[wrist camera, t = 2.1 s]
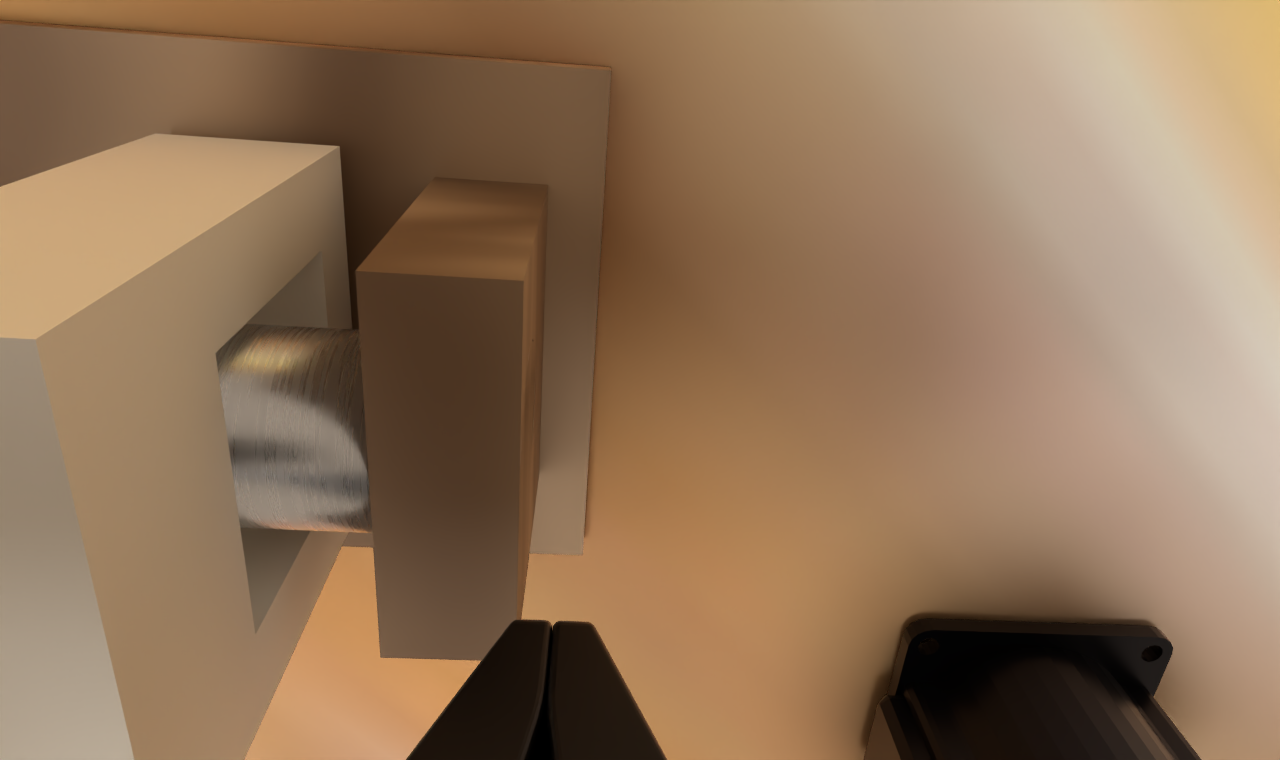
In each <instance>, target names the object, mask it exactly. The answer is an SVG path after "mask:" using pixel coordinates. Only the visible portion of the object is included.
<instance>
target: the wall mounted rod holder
mask: <svg viewBox="0 0 1280 760" xmlns="http://www.w3.org/2000/svg"><path fill="white" fill-rule="evenodd" d="M610 85H611V67H602V66H589V65H576V64H563V63H550V62H537V61H524V60H511V59H498V58H485V57H472V56H459V55H446V54H433V53H420V52H407V51H394V50H381V49H369V48H356V47H343V46H330V45H317V44H304V43H291V42H278V41H265V40H252V39H239V38H226V37H213V36H200V35H187V34H174V33H161V32H148V31H135V30H122V29H109V28H96V27H83V26H70V25H57V24H44V23H31V22H18V21H5V20H0V187H1V186H4V185H7V184H10V183H13V182H15V181H18V180H21V179H24V178H27V177H30V176H33V175H36V174H39V173H42V172H45V171H47V170H50V169H53V168H56V167H59V166H62V165H65V164H68V163H71V162H74V161H77V160H79V159H82V158H85V157H88V156H91V155H94V154H97V153H100V152H103V151H106V150H109V149H111V148H114V147H117V146H120V145H123V144H126V143H129V142H132V141H135V140H138V139H141V138H144V137H146V136H149V135H152V134H155V133H156V134H171V135H185V136H200V137H214V138H229V139H243V140H258V141H272V142H287V143H301V144H316V145H330V146H340V159H341V174H342V188H343V203H344V217H345V232H346V246H347V261H348V276H349V290H350V305H351V319H352V329H354V330H359V335H360V350H361V365H362V381H363V396H364V411H365V427H366V442H367V457H368V473H369V488H370V503H371V519H372V533H360V532H348V534H347V536H346V538H345V540H344V543H343V545H342V546H350V547H373V550H374V565H375V580H376V596H377V611H378V626H379V642H380V657H381V658H413V659H448V660H483V658H484V657H485V656H486V654H487V653H488V652H489V650H490V649H491V648H492V647H493V645H494V644H495V643H496V641H497V640H498V639H499V637H500V636H501V635H502V633H503V632H504V631H505V630H506V628H507V627H508V626H509V625H510V623H511V622H513V621H514V620H519V619H520V620H521V616H522V608H523V600H524V592H525V584H526V576H527V568H528V560H529V553H537V554H564V555H583V544H584V527H585V510H586V493H587V476H588V459H589V442H590V425H591V408H592V391H593V374H594V357H595V340H596V323H597V306H598V289H599V272H600V255H601V238H602V221H603V204H604V187H605V170H606V153H607V136H608V119H609V102H610ZM532 340H533V341H532ZM529 350H530V351H529ZM528 357H529V358H528ZM534 391H535V403H534ZM533 419H534V424H533ZM521 439H522V440H521ZM520 458H521V459H520Z"/></svg>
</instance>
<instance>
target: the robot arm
mask: <svg viewBox="0 0 1280 760" xmlns="http://www.w3.org/2000/svg"><path fill="white" fill-rule="evenodd" d="M929 638H932V639H931V640H930V641H928V642H926V643H921V642H922V641H923V640H925V639H929ZM1172 651H1173V647H1172V644H1171V642H1170V641H1169V640H1168V639H1167V637H1166V636H1165V635H1164V634H1163V633H1162V632H1161V631H1160V630H1159V629H1158V628H1156V627H1152V626H1138V625H1108V624H1077V623H1047V622H1017V621H987V620H957V619H920V620H917V621H915V622H913V623H911V624H910V625H909V626H908V627H907V628H906V629H905V631H904V633H903V636H902V639H901V643H900V647H899V651H898V655H897V659H896V662H895V666H894V670H893V674H892V678H891V682H890V685H889V689H888V693H887V695H885V696H884V697H883V698H882V699H881V701H880V702H879V703H878V705H877V709H876V713H875V717H874V721H873V725H872V728H871V732H870V736H869V740H868V744H867V748H866V752H865V756H864V760H1201V759H1200V757H1199V756H1198V755H1197V753H1196V752H1195V751H1194V749H1193V748H1192V747H1191V746H1190V744H1189V743H1188V742H1187V740H1186V739H1185V738H1184V736H1183V735H1182V734H1181V733H1180V731H1179V730H1178V729H1177V727H1176V726H1175V725H1174V723H1173V722H1172V721H1171V720H1170V718H1169V717H1168V716H1167V714H1166V713H1165V712H1164V711H1163V709H1162V708H1161V707H1160V705H1159V704H1158V703H1157V701H1156V700H1155V699H1154V698H1153V696H1154V694H1155V692H1156V690H1157V687H1158V685H1159V683H1160V680H1161V678H1162V676H1163V673H1164V671H1165V669H1166V667H1167V664H1168V662H1169V660H1170V657H1171V655H1172ZM406 760H667V758H666V757H665V755H664V753H663V751H662V749H661V747H660V746H659V744H658V742H657V740H656V738H655V736H654V735H653V733H652V731H651V729H650V727H649V725H648V724H647V722H646V720H645V718H644V716H643V714H642V712H641V711H640V709H639V707H638V705H637V703H636V701H635V700H634V698H633V696H632V694H631V692H630V690H629V689H628V687H627V685H626V683H625V681H624V679H623V678H622V676H621V674H620V672H619V670H618V668H617V666H616V665H615V663H614V661H613V659H612V657H611V655H610V654H609V652H608V650H607V648H606V646H605V644H604V643H603V641H602V639H601V637H600V635H599V633H598V632H597V630H596V628H595V627H594V625H593V624H591V623H589V622H576V621H558V622H556V623H555V624H554V626H553V630H552V625H551V623H550V622H549V621H546V620H520V619H519V620H514V621H513V622H511V623H510V625H509V626H508V627H507V628H506V630H505V631H504V632H503V633H502V635H501V636H500V637H499V639H498V640H497V641H496V643H495V644H494V645H493V647H492V648H491V649H490V650H489V652H488V653H487V654H486V656H485V657H484V658H483V660H482V661H481V662H480V664H479V665H478V666H477V667H476V669H475V670H474V671H473V673H472V674H471V675H470V677H469V678H468V679H467V681H466V682H465V683H464V684H463V686H462V687H461V688H460V690H459V691H458V692H457V694H456V695H455V696H454V698H453V699H452V700H451V701H450V703H449V704H448V705H447V707H446V708H445V709H444V711H443V712H442V713H441V714H440V716H439V717H438V718H437V720H436V721H435V722H434V724H433V725H432V726H431V728H430V729H429V730H428V731H427V733H426V734H425V735H424V737H423V738H422V739H421V741H420V742H419V743H418V745H417V746H416V747H415V748H414V750H413V751H412V752H411V754H410V755H409V756H408V758H407V759H406Z"/></svg>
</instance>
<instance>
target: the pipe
mask: <svg viewBox="0 0 1280 760" xmlns="http://www.w3.org/2000/svg"><path fill="white" fill-rule="evenodd" d="M532 341H533V340H532ZM529 351H530V350H529ZM215 354H216V361H217V368H218V375H219V382H220V389H221V396H222V403H223V410H224V417H225V424H226V431H227V438H228V445H229V452H230V459H231V466H232V473H233V480H234V487H235V494H236V501H237V508H238V515H239V522H240V528H256V529H282V530H308V531H334V532H360V533H372V519H371V503H370V488H369V473H368V457H367V442H366V427H365V411H364V396H363V381H362V365H361V350H360V335H359V330H354V329H336V328H317V327H299V326H281V325H262V324H245V325H244V326H243V327H242V328H241V329H240V330H239V331H238V332H237V333H236V334H235V335H234V336H232V337H231V338H230V339H229V340H228V341H227V342H226V343H225V344H224V345H223V346H222V347H221V348H220V349H219V350H218V351H217V352H216V353H215ZM528 358H529V357H528ZM534 403H535V391H534ZM533 424H534V419H533ZM521 440H522V439H521ZM520 459H521V458H520Z"/></svg>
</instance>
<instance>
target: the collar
mask: <svg viewBox="0 0 1280 760" xmlns="http://www.w3.org/2000/svg"><path fill="white" fill-rule="evenodd" d="M245 324H262V325H281V326H299V327H317V328H336V329H352V319H351V305H350V290H349V276H348V261H347V246H346V232H345V217H344V203H343V188H342V174H341V159H340V146H330V145H316V144H301V143H287V142H272V141H258V140H243V139H229V138H214V137H200V136H185V135H171V134H156V133H155V134H152V135H149V136H146V137H144V138H141V139H138V140H135V141H132V142H129V143H126V144H123V145H120V146H117V147H114V148H111V149H109V150H106V151H103V152H100V153H97V154H94V155H91V156H88V157H85V158H82V159H79V160H77V161H74V162H71V163H68V164H65V165H62V166H59V167H56V168H53V169H50V170H47V171H45V172H42V173H39V174H36V175H33V176H30V177H27V178H24V179H21V180H18V181H15V182H13V183H10V184H7V185H4V186H1V187H0V760H244V759H245V757H246V754H247V752H248V750H249V748H250V746H251V744H252V741H253V739H254V737H255V735H256V733H257V730H258V728H259V726H260V724H261V722H262V719H263V717H264V715H265V713H266V711H267V709H268V706H269V704H270V702H271V700H272V698H273V695H274V693H275V691H276V689H277V687H278V685H279V682H280V680H281V678H282V676H283V674H284V671H285V669H286V667H287V665H288V663H289V661H290V658H291V656H292V654H293V652H294V650H295V647H296V645H297V643H298V641H299V639H300V636H301V634H302V632H303V630H304V628H305V626H306V623H307V621H308V619H309V617H310V615H311V612H312V610H313V608H314V606H315V604H316V602H317V599H318V597H319V595H320V593H321V591H322V588H323V586H324V584H325V582H326V580H327V577H328V575H329V573H330V571H331V569H332V567H333V564H334V562H335V560H336V558H337V556H338V553H339V551H340V549H341V547H342V545H343V543H344V540H345V538H346V536H347V534H348V532H334V531H308V530H282V529H256V528H240V522H239V515H238V508H237V501H236V494H235V487H234V480H233V473H232V466H231V459H230V452H229V445H228V438H227V431H226V424H225V417H224V410H223V403H222V396H221V389H220V382H219V375H218V368H217V361H216V354H215V353H216V352H217V351H218V350H219V349H220V348H221V347H222V346H223V345H224V344H225V343H226V342H227V341H228V340H229V339H230V338H231V337H232V336H234V335H235V334H236V333H237V332H238V331H239V330H240V329H241V328H242V327H243V326H244V325H245Z"/></svg>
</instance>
